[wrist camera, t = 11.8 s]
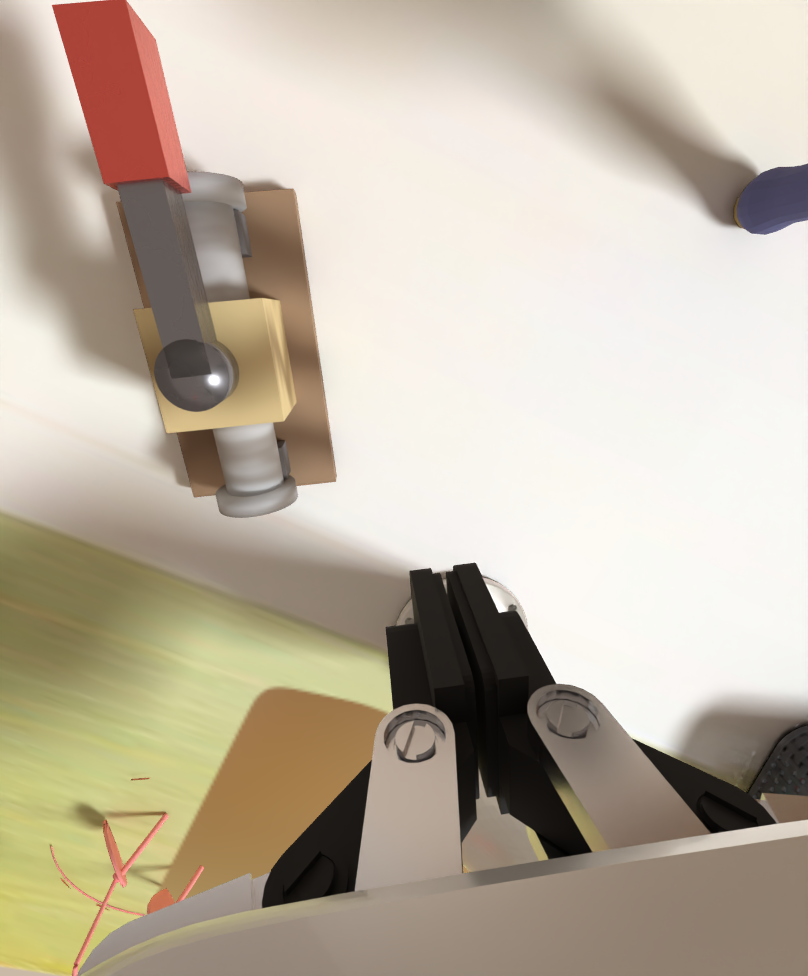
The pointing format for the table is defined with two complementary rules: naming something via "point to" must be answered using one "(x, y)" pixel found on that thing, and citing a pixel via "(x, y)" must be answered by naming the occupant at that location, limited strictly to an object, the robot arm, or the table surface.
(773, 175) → the rubber mallet
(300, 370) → the valve manifold
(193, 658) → the table surface
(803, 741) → the storage bin
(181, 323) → the lever
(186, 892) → the figurine
